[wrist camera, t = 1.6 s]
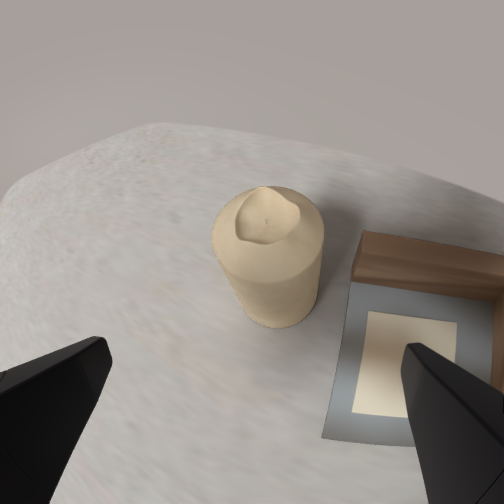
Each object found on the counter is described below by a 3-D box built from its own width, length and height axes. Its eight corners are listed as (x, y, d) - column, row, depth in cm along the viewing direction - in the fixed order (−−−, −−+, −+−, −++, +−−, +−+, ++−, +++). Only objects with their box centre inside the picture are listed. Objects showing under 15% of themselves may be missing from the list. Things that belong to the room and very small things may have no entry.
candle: (241, 260, 25) (209, 172, 16) (314, 256, 24) (319, 164, 15) (239, 330, 22) (198, 272, 13) (319, 327, 21) (333, 266, 13)
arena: (492, 444, 15) (530, 446, 10) (321, 437, 18) (328, 446, 13) (502, 289, 20) (534, 262, 16) (352, 265, 23) (363, 230, 19)
